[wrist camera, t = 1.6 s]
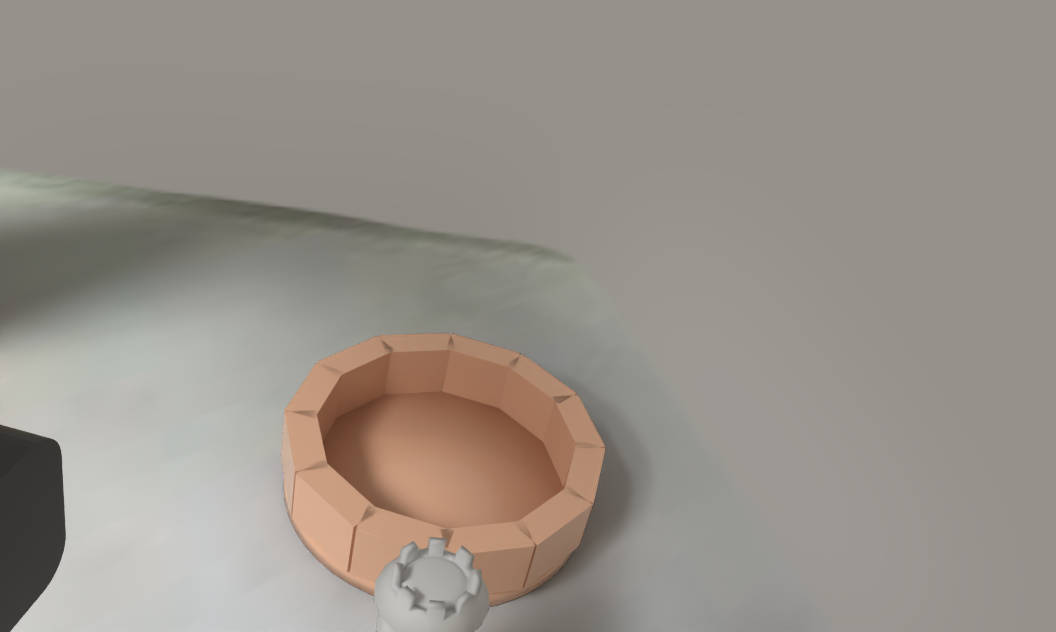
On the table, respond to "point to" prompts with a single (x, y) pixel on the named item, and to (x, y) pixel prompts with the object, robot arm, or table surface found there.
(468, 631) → the rook chess piece
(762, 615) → the table surface
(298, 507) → the dish
